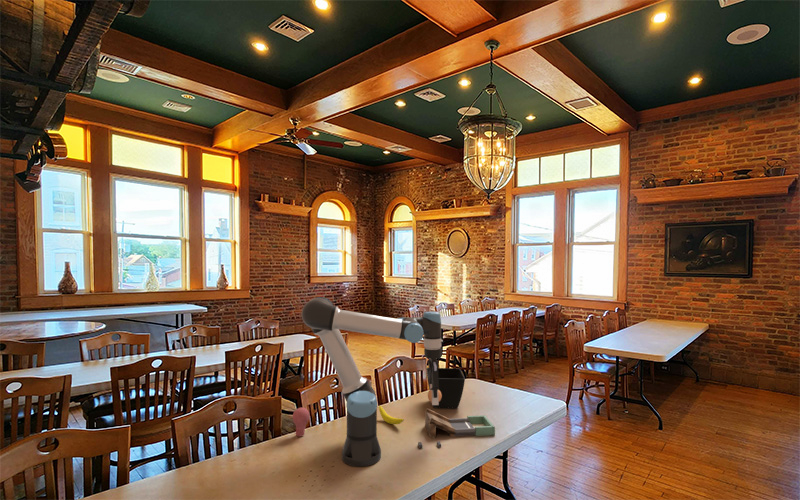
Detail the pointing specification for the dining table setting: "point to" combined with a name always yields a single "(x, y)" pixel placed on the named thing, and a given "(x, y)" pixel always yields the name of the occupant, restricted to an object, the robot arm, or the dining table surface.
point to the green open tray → (482, 425)
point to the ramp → (437, 423)
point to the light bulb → (300, 420)
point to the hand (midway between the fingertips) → (434, 401)
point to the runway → (462, 427)
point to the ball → (431, 395)
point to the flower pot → (449, 387)
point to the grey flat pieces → (437, 444)
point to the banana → (389, 417)
